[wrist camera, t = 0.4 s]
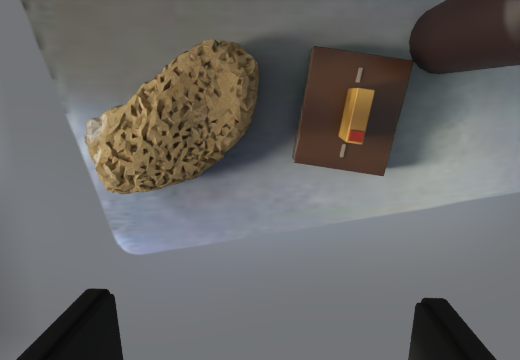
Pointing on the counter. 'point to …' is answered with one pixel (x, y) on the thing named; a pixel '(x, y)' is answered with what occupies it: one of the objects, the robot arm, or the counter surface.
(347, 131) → the thumbturn
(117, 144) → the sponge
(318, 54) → the lock plate
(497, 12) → the bottle
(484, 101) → the counter surface
